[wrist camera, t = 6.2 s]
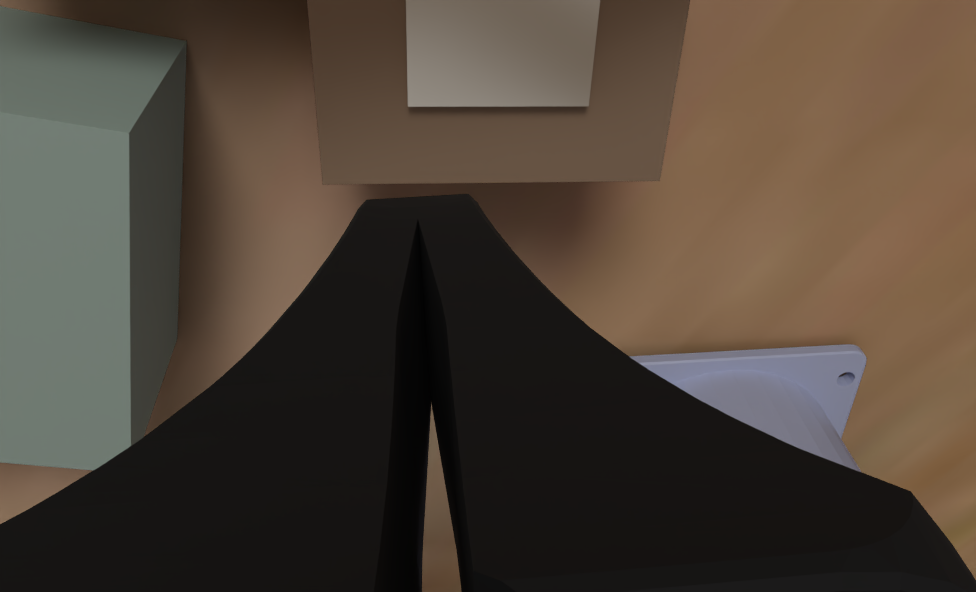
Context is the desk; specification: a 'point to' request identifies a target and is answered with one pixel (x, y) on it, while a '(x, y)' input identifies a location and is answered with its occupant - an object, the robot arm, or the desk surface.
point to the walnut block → (494, 89)
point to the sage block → (86, 234)
